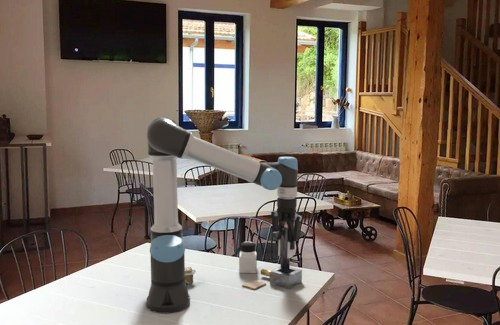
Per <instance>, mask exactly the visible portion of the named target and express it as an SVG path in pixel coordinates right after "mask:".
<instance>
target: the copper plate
mask: <svg viewBox="0 0 500 325" xmlns="http://www.w3.org/2000/svg"><path fill="white" fill-rule="evenodd" d="M266 285H267V283H266V282H263V281H259V280H255V279H252V280H250V281H247V282H245V283H243V284H242V286H241V287H242V288H246V289H250V290H253V291H256V290H258V289H260V288H262V287H264V286H266Z"/></svg>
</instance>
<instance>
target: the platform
mask: <svg viewBox="0 0 500 325" xmlns="http://www.w3.org/2000/svg"><path fill="white" fill-rule="evenodd" d="M196 272H197V271H196V269H193V268H192V266H190V267H189V266H188V267H187V266H186V269H185V284H189V285H190V284H191V283H193V282H194V275H195V274H196Z"/></svg>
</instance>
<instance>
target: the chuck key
mask: <svg viewBox="0 0 500 325" xmlns="http://www.w3.org/2000/svg"><path fill="white" fill-rule="evenodd" d="M278 236H281V256H280V264H279V265H280V266H279V267H280V268H281V269H289V268H290V267H291V266H290V265H291V264H290V263H291V258H287V249H288V241H290V240H289V232H288V226H284V227H281V230H278V231H275V232H273V231H272V233H271V237H273V238H276V237H278Z"/></svg>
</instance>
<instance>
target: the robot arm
mask: <svg viewBox="0 0 500 325" xmlns="http://www.w3.org/2000/svg"><path fill="white" fill-rule="evenodd" d="M146 140H147V155H148V157H149V158H150V159H151V160H152V177H153V179H152V185H153V186H152V187H153V213H154V215H153V216H154V221H153V222H154V223H153V224H152V226H151V227H150V245H149V246H150V248H149V254H150V287H149V291H148V295H147V297H146V309H147V310H149V311H151V312H154V313H157V314H173V313H178V312H181V311H184V310H186V309H188V308H189V307H190V305H191V296H190V294H189V291H188V288H187V285H186V284H187V283H185V270H186V267H185V266H186V265H185V263H186V262H185V252H186V246H185V242H184V240H183V239H184V238H183V226H182V225H181V224H180V223H179V216H178V215H179V214H178V212H179V210H178V178H177V177H178V170H177V166H178V165H177V162H178V161H177V159H178V158H179V159H183V158H188V159H190V160H193V161H195V162H198V163H201V164H203V165H205V166H208V167H211V168H213V169H217V170H219V171H222V172H223V173H224V172H225V173H226V174H229V175H232V176H234V177H237V178H239V179H242V180H245V181H247V182H248V183H251V184H255V185H257V186H260V187H262V188H264V189H265V190H267V191H276V192H277V193H276V195H277V197H276V207H277V209H276V210H273V211H271V212H270V215H271V220H272V222H271V223H272V232H275V231H278V230H281V227H286V226H285V225H287V227H288V232H289V240H290V241H288V249H287V258H290V259H291V258H293V257H294V250H295V245H296V242H297V241H299V240H300V239H301V227H302V220H303V215H299V213H298V212H297V206H298V205H297V202H298V200H297V197H298V173H299V172H298V171H299V169H298V168H299V166H298V164H299V163H298V159H297V158H296V157H294V156H279V157H278V159H277V162H259V161H257V160H254V159H252V158H249V157H246V156H245V155H242V154H239V153H236V152H234V151H232V150H229V149H227V148H224V147H221V146H218V145H216V144H214V143H211V142H209V141H206V140H204V139H201V138H199V137H196V136H194V135H193V132H191V131H190V130H187V129H185V128H183V127H181V126H179V125H178V123H177V122H176V121H175V120H174V119H173V118H170V117H164V116H163V117H157V118H155V119H153V120H152V121H151V122H150V123H149V125H148V126H147V131H146ZM285 223H286V224H285ZM275 239H276V247H278V252H277V253H278V255H277V256H278V257H281V236H278V237H275Z"/></svg>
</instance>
